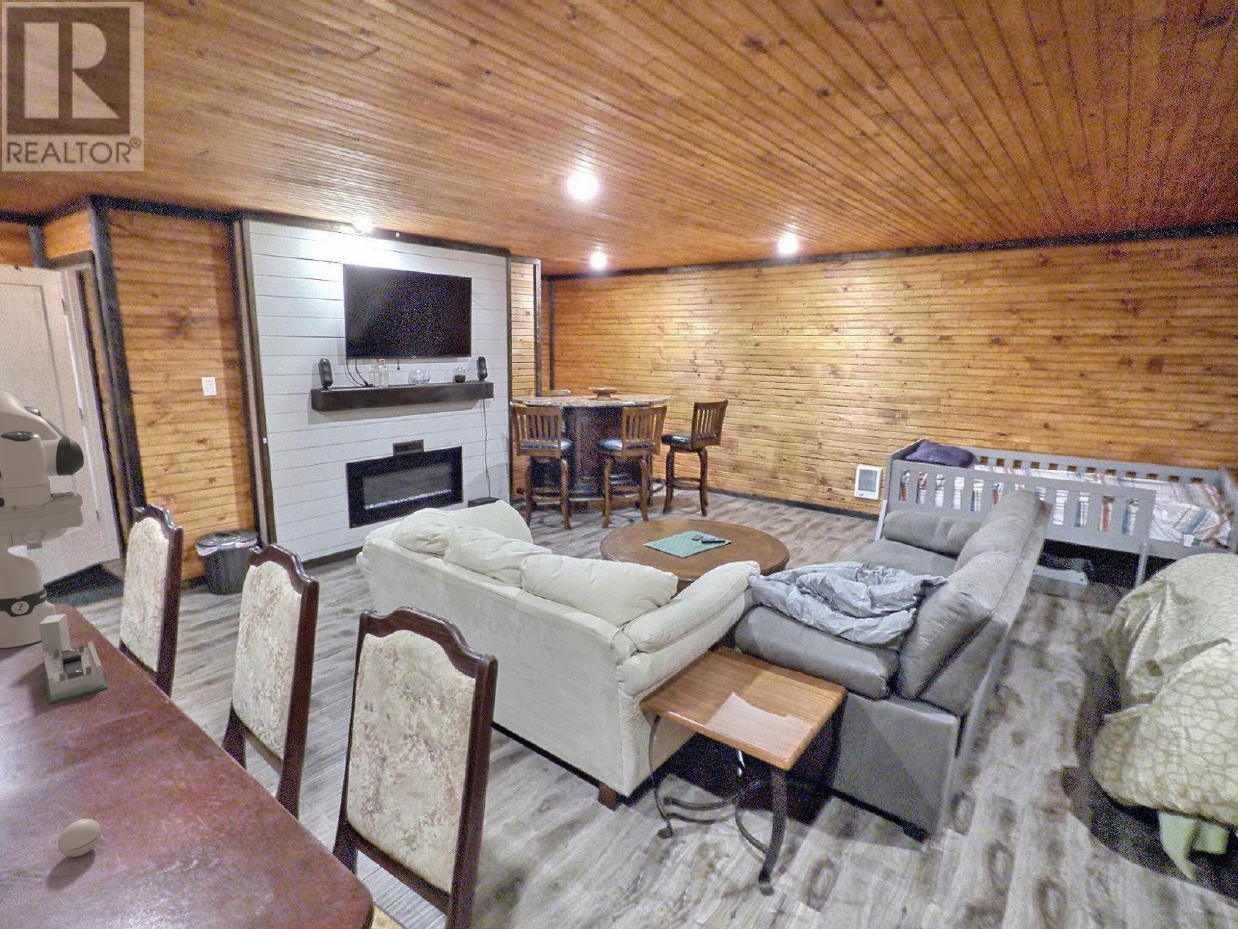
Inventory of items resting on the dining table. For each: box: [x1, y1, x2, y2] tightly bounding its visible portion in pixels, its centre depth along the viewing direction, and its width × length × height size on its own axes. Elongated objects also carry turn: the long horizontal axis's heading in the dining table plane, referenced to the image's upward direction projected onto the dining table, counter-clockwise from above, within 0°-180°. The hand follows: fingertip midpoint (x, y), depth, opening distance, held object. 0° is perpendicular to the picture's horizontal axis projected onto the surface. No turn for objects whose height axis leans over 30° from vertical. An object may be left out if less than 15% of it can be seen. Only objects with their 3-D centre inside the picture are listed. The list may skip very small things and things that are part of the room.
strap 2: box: [65, 660, 84, 678], centre depth 159 cm, size 8×3×1 cm, turn 45°
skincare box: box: [39, 613, 72, 656], centre depth 173 cm, size 6×4×12 cm
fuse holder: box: [42, 640, 108, 705], centre depth 162 cm, size 21×11×7 cm, turn 45°
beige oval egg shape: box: [57, 818, 117, 858], centre depth 107 cm, size 8×6×6 cm
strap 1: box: [61, 647, 78, 658], centre depth 165 cm, size 8×3×1 cm, turn 45°
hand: (34, 548), depth 161 cm, fingers closed
